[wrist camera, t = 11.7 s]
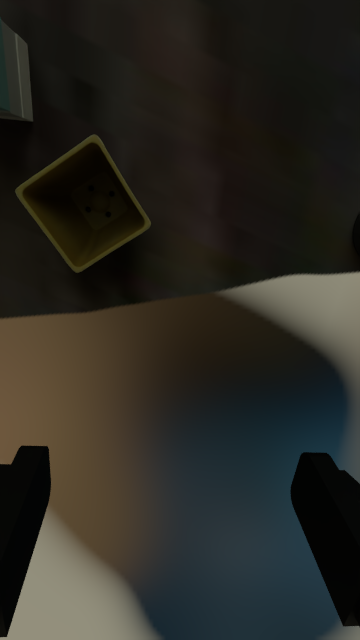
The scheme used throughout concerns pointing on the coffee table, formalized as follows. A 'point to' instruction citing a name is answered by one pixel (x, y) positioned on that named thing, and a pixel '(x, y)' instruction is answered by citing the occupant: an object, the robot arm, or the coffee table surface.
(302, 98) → the coffee table surface
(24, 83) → the slab bottom
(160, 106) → the coffee table surface
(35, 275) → the coffee table surface
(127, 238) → the flower pot
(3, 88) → the slab top
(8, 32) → the slab middle
